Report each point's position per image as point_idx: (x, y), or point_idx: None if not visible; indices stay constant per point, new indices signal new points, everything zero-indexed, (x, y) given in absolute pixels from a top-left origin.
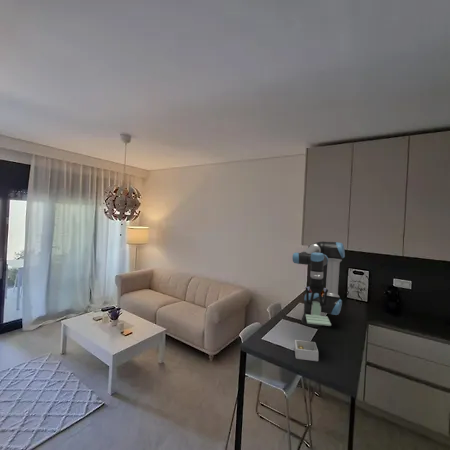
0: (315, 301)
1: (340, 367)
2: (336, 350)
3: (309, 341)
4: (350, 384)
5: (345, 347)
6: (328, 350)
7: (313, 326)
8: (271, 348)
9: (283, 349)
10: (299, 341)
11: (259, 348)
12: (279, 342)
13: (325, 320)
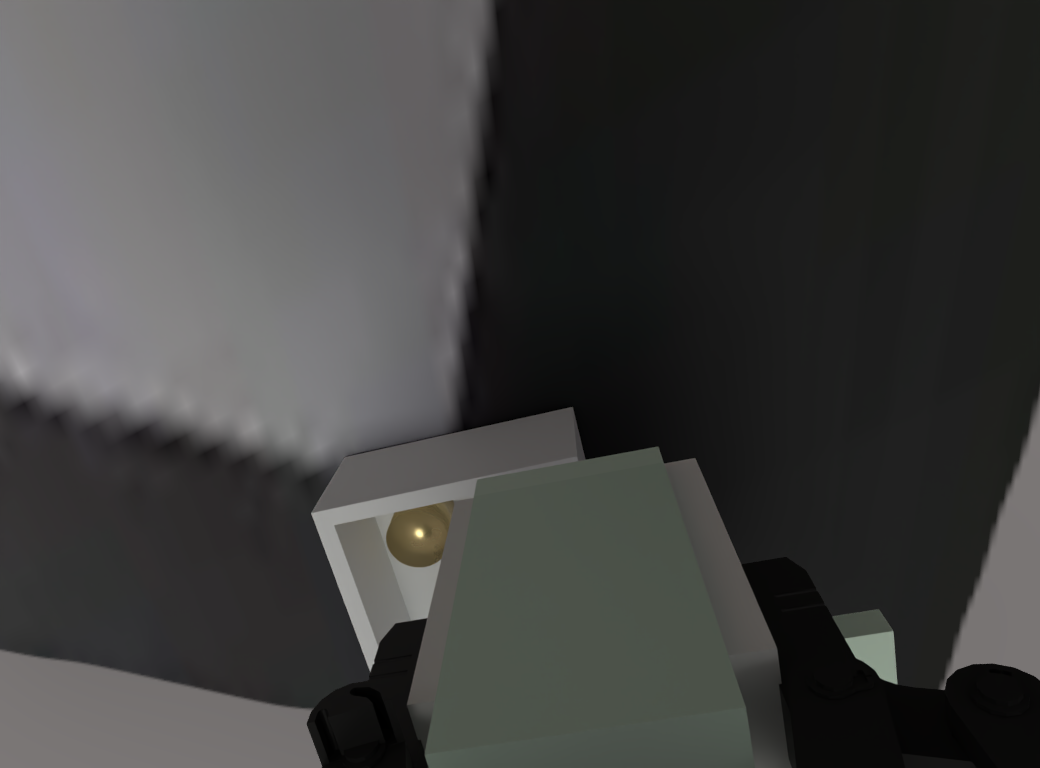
0: (571, 744)
1: (831, 590)
2: (828, 226)
3: (501, 472)
4: None
5: (967, 62)
6: (727, 276)
7: None
8: (114, 534)
9: (234, 497)
10: (378, 512)
11: (9, 587)
12: (129, 352)
13: None
